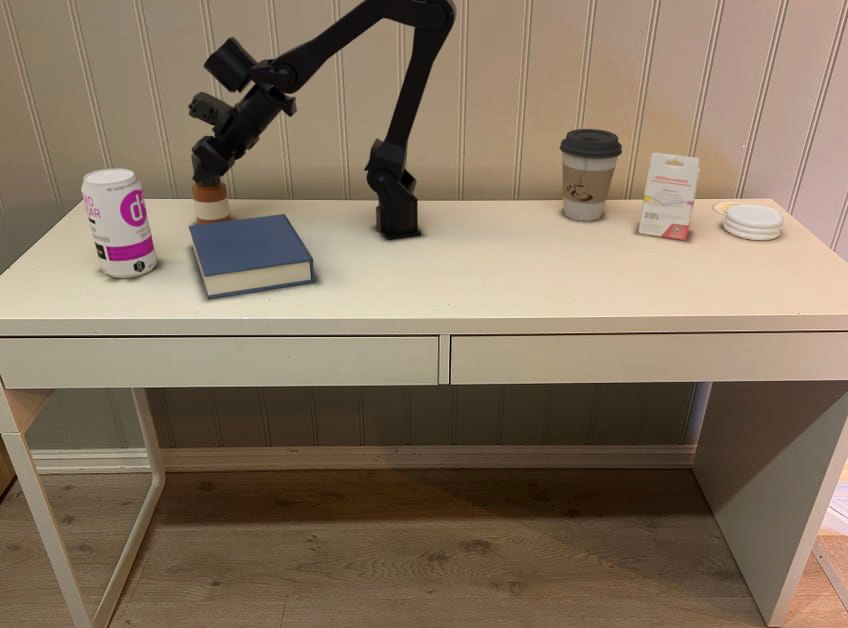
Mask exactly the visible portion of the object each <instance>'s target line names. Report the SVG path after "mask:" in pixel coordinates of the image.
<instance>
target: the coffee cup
mask: <svg viewBox="0 0 848 628" xmlns="http://www.w3.org/2000/svg"><path fill="white" fill-rule="evenodd" d="M565 135H566V136H565V138H563V139H562V140H561V142H560V146H559V150H560V151H561V161H562V163H561V165H562V166H561V167H562V209H563V214H564V215H565V217H567V218H568V219H571V220H574V221H580V222H591V221H596V220H599V219H600V218H601V217H602V214H603V213H604V209H605V207H606V203H607V199H608V195H609V191H610V188H611V185H612V181H613V178H614V173H615V169H616V166H617V162H618V158H619V156H621V155H622V154H623V145H622V144H621V143H620V142H619V136H618V135H617V134H615V133H614V132H611V131H608V130H605V129H604V130H603V129H598V128H597V129H596V128H577V129H572V130H570V131H567V133H566V134H565Z"/></svg>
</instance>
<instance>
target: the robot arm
mask: <svg viewBox="0 0 848 628" xmlns="http://www.w3.org/2000/svg"><path fill="white" fill-rule="evenodd" d="M457 11H458V10H457V7H456V4H455V2H454V0H363V1H361V2H359V4H357V5H356V6H355V7H354V8H352V9H351V10H350V11H349V12H347V13H346V14H344V15H343V16H342V17H341V18H339V19H338V20H337V21H335V22H334V23H333V24H331V25H330V26H329V27H327V28H326V29H325V30H324V31H322V32H321V33H319V34H318V35H317V36H316V37H313V38H311V39H309V40H307V41H305V42H302V43H301V44H298V45H296V46H294V47H292V48H289V49H288V50H286V51H284V52H283V53H281V54H280V55H279V56H277V57H275V58H268V59H266V58H265V59H261V60H260V61H257V60H256V59H255V58H254V57H253V56H252V55H251V54H250V53H249V52H248V51H247V50H246V49H245V48H244V47H243V46H242V44H241V43H240V41H238V39H237V38H236V37H234V36H231V37H228V38H227V39H226V40H225V42H224V43H223V44H221V46H219V47H218V48H217V49H216V50H215V51H214V52H212V53H211V54H210V55H209V56H208V58H207V59H206V60H205V62H204V63H203V64H202V65H203V66H202V67H203V68H204V69H205V70H206V71H207V72H208V73H209V75H211V76H212V77H213V78H214V79H215V80H216V81H217V82H218V83H219V84H221V86H223V87H224V88H225V90H227V91H228V93H230V94H232V93H233V94H235V93H236V92H238V93H239V94H243V92H244V91H245V90H247V88H248V87H249V86H250V85H251V84H252V82H253V83H254V84H253V86H251V88H250V89H249V90H248V91H247V93H245V95H244V96H243V97H242V98H241V100H240V101H238V102H236V103H235V104H234V105H233V106H232V105H230V104H228V103H227V102H226V101H224V100H221V98H220V99H219V98H218V97H215V96H214V95H212V94H209V93H208V92H205V91H199V92H198V93H196V94H195V95H193V97H192V100H191V102H190V103H189V104H188V106H187V107H188V109H189V111H188V115H189V117H191V118H193V119H198V120H199V121H202V122H203V123H206V124H208V125H210V126H213V127H212V128H211V131H212V132H213V133H214V136H213V135H204V136H203V137H201V138H200V139H199V140H197V142H196V143H195V144H194V145H193V146H192V147H191V150H190V151H191V152H192V154H195V155H196V156H197V157H198V158H199V159H200V162H199V164H198V166H197V168H196V171H195V173H194V172H193V175H192V177H191V179H192V181H194V182H196V183H198V182H201V181H203V180H206V179H208V178H211V177H213V176H216V175H218V176H220V178H223V177H224V176H225V175H226V174H227V173H228V172H229V171H230V170H231V169H232V167H233V166H235V164H236V161H237V160H239V159H241V158H243V157H244V156H245V155H246V153H247V152H246V151H247V150H248V151H250V150H252V149H253V148H254V147H255V146H256V144H257V143H258V142H260V136H261V135H262V133H264V132H265V131H266V129H267V128H268V126H269V125H270V124H271V123H272V122H273V121H274V120H275V119H276V118H277V116H278V115H279V114H280V113H281V112H284V114H286V115H287V116H288V117H289V118H292V117H293V116H294V115H295V114H296V113H297V112H298V108H297V103H296V102H297V97H296V96H289V95H292V94H295V93H297V92H299V91H300V90H301V89H302V88H303V87H304V86H305V85H306V84H307V83H309V81H310V80H311V79H312V78H313V77H314V76H315V75H316V73H318V71H320V69H321V68H322V67H323V66H324V65H325V63H326V62H327V61H328V60H329V59H330V58H331V57H333V56H334V55H335V54H337V53H339V51H340V50H342V49H343V48H345V47H346V46H348V45H349V44H350V43H351V42H353V41H354V40H356V39H357V38H358V37H359V36H361V35H362V34H364V33H365V32H366V31H368V30H369V29H370V28H372V27H373V26H374V25H376V24H377V23H379V22H380V21H381V20H383V19H386V20H390V21H393V22H396V23H399V24H401V25H404V26H409V27H412V28H414V29H413V38H412V50H411V56H410V59H409V62H408V66H407V69H406V72H405V75H404V78H403V82H402V83H401V84H402V85H401V87H400V91H399V94H398V96H397V97H398V98H397V100H396V104H395V106H394V110H393V113H392V115H391V116H392V117H391V120H390V123H389V126H388V129H387V133H386V136H385V138H384V139H383V140H381V139H380V138H378V137H375V139H374V141H373V143H372V145H371V147H370V152H369V159H368V161H367V163H366V165H365V167H364V169H363V171H365V172H367V173H366V183H367V184H368V187H369V188H370V189H371V190H372V191H373V192H374V193H376V195H377V199H378V205H376V206H375V223H376V224H375V227H376V229H377V230H378V231H379V232H380V233H381V234H382V236H384V238H385V239H386V240H393V239H402V238H408V237H415V236H420V235H422V231H421V229H419V228H418V227H419V225H418V224H419V222H418V221H419V220H418V216H419V215H418V213H419V212H418V211H419V210H418V209H419V208H418V201H419V199H418V197H416V195H414V191H415V188H416V185H417V182H418V180H417V179H416V177H414V175H412V174H411V172H409V170H407V169H406V164H407V163H406V162H407V155H408V145H409V138H410V135H411V133H412V129H413V126H414V123H415V120H416V117H417V114H418V111H419V108H420V105H421V102H422V99H423V96H424V93H425V90H426V87H427V84H428V81H429V79H430V75H431V72H432V70H433V66H434V63H435V60H437V57H438V55H439V53H440V51H441V49H442V48H443V46H444V44H445V42H446V40H447V38H448V36H449V34H450V33H451V31H452V30H453V27H454V24H455V21H456V20H457V14H458V12H457ZM196 183H195V184H196Z"/></svg>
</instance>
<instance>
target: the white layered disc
mask: <svg viewBox="0 0 848 628" xmlns="http://www.w3.org/2000/svg"><path fill="white" fill-rule="evenodd" d="M784 222H785V217H784V215H783V214H782V213H781V212H779V211H778V210H776V209H774V208H771V207H769V206H764V205H758V204H751V203H749V204H748V203H742V204H740V203H739V204H735V205H731V206H730V207H728V208H726V211H725V216H724V220H723V225H722V226H723V228H724V230H725V231H726V232H728V233H729V234H731V235H732V236H735V237H738V238H741V239H745V240H750V241H771V240H774V239H776V238H778V237H780V235H781V233H782V229H783V223H784Z"/></svg>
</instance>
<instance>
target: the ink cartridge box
mask: <svg viewBox="0 0 848 628" xmlns="http://www.w3.org/2000/svg"><path fill="white" fill-rule="evenodd" d="M650 158H651V159H650V163H649V168H648V169H647V173H646V181H645V187H644V194H643V199H642V206H641V212H640V217H639V218H640V219H639V224H638V230H637V231H638V234H640V235H647V236H653V237H654V236H655V237H662V238H666V239H668V238H669V239H673V240H679V241H686V240H687V236H688V233H689V230H690V226H691V220H692V216H693V210H694V205H695V199H696V193H697V188H698V183H699V177H700V173H701V172H700V171H701V169H700V167H699V166H700V163H701V162H700V158H699V157H692V156H687V155H678V154H669V153H660V152H652V154H651V156H650ZM674 161H676V162H677V163H680V164H682V165H681V166H679V165H670V164H667V162H674Z"/></svg>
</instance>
